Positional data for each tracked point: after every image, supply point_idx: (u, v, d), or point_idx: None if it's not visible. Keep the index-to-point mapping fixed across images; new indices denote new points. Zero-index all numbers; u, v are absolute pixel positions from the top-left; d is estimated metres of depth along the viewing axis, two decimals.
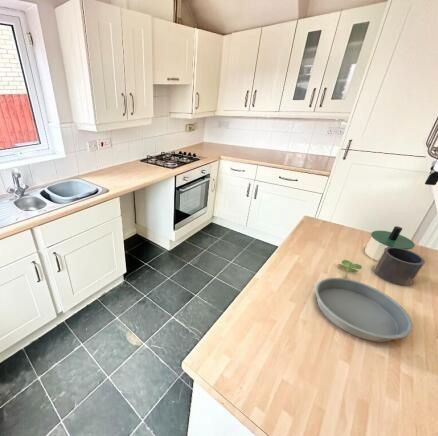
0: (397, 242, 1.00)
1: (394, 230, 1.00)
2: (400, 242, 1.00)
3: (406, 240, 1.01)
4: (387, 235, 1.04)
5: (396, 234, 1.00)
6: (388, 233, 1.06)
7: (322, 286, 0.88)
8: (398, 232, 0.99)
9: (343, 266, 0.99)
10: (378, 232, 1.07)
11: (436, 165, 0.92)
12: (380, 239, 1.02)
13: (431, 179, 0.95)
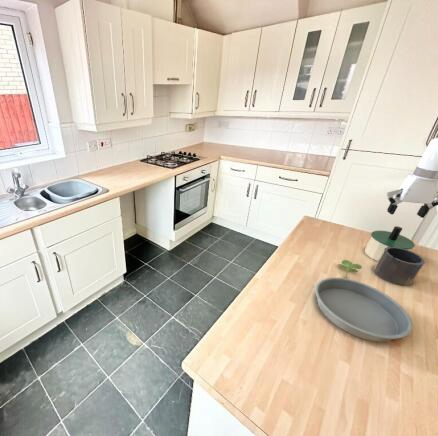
0: (397, 242, 1.00)
1: (394, 230, 1.00)
2: (400, 242, 1.00)
3: (406, 240, 1.01)
4: (387, 235, 1.04)
5: (396, 234, 1.00)
6: (388, 233, 1.06)
7: (322, 286, 0.88)
8: (398, 232, 0.99)
9: (343, 266, 0.99)
10: (378, 232, 1.07)
11: (407, 197, 0.92)
12: (380, 239, 1.02)
13: None
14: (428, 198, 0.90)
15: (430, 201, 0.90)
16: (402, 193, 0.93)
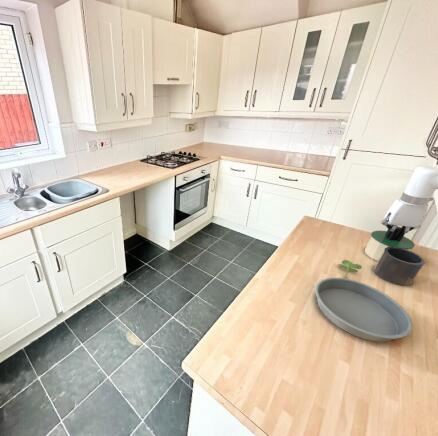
0: (397, 242, 1.00)
1: (394, 230, 1.00)
2: (400, 242, 1.00)
3: (406, 240, 1.01)
4: None
5: (396, 234, 1.00)
6: None
7: (322, 286, 0.88)
8: (398, 232, 0.99)
9: (343, 266, 0.99)
10: (378, 232, 1.07)
11: (395, 220, 0.97)
12: (380, 239, 1.02)
13: None
14: (415, 222, 0.95)
15: (417, 225, 0.95)
16: (390, 217, 0.97)
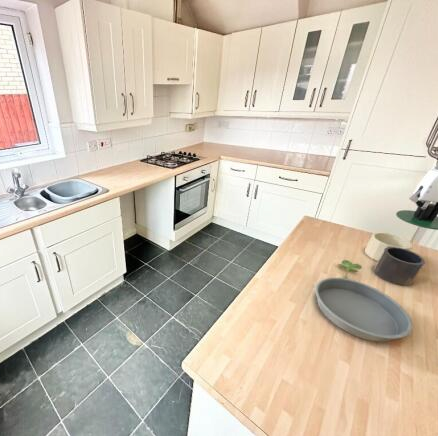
0: (429, 222, 0.83)
1: (426, 208, 0.83)
2: (433, 222, 0.83)
3: None
4: None
5: (428, 212, 0.83)
6: None
7: (322, 286, 0.88)
8: (431, 210, 0.82)
9: (343, 266, 0.99)
10: (404, 212, 0.90)
11: (428, 195, 0.80)
12: (408, 219, 0.85)
13: None
14: None
15: None
16: (422, 191, 0.80)
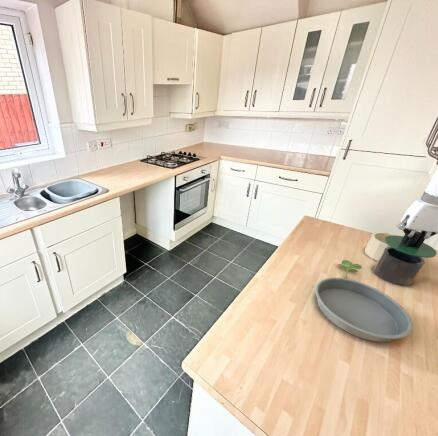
0: (416, 249, 0.86)
1: None
2: (419, 249, 0.86)
3: (426, 247, 0.87)
4: None
5: (415, 240, 0.86)
6: None
7: (322, 286, 0.88)
8: (417, 238, 0.86)
9: (343, 266, 0.99)
10: (393, 237, 0.93)
11: (414, 224, 0.83)
12: (395, 245, 0.89)
13: None
14: None
15: None
16: (408, 220, 0.84)
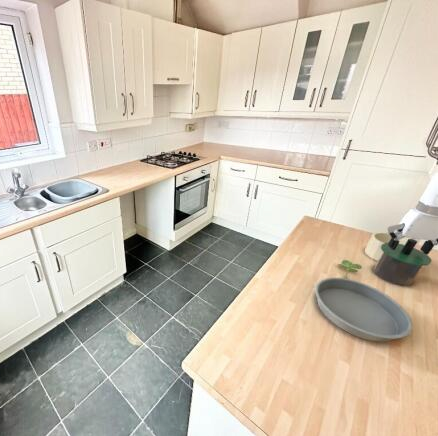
0: (411, 257, 0.88)
1: (408, 243, 0.88)
2: (414, 257, 0.88)
3: (421, 254, 0.89)
4: (399, 248, 0.93)
5: (410, 248, 0.88)
6: (400, 246, 0.94)
7: (322, 286, 0.88)
8: (412, 246, 0.87)
9: (343, 266, 0.99)
10: None
11: (409, 233, 0.85)
12: (391, 253, 0.90)
13: None
14: (432, 235, 0.83)
15: (435, 238, 0.83)
16: (404, 228, 0.86)
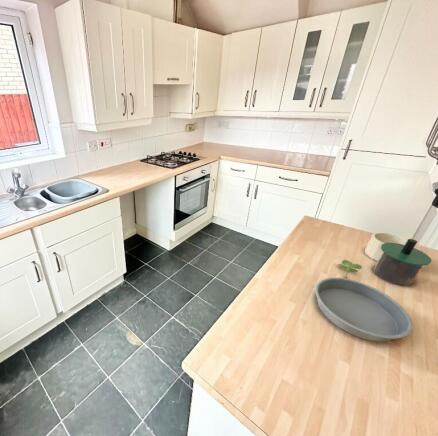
0: (411, 257, 0.88)
1: (408, 243, 0.88)
2: (414, 257, 0.88)
3: (421, 254, 0.89)
4: (399, 248, 0.93)
5: (410, 248, 0.88)
6: (400, 246, 0.94)
7: (322, 286, 0.88)
8: (412, 246, 0.87)
9: (343, 266, 0.99)
10: (389, 244, 0.95)
11: None
12: (391, 253, 0.90)
13: None
14: None
15: None
16: None
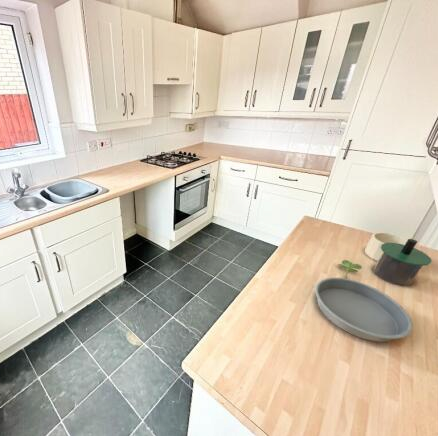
0: (411, 257, 0.88)
1: (408, 243, 0.88)
2: (414, 257, 0.88)
3: (421, 254, 0.89)
4: (399, 248, 0.93)
5: (410, 248, 0.88)
6: (400, 246, 0.94)
7: (322, 286, 0.88)
8: (412, 246, 0.87)
9: (343, 266, 0.99)
10: (389, 244, 0.95)
11: None
12: (391, 253, 0.90)
13: None
14: None
15: None
16: None
